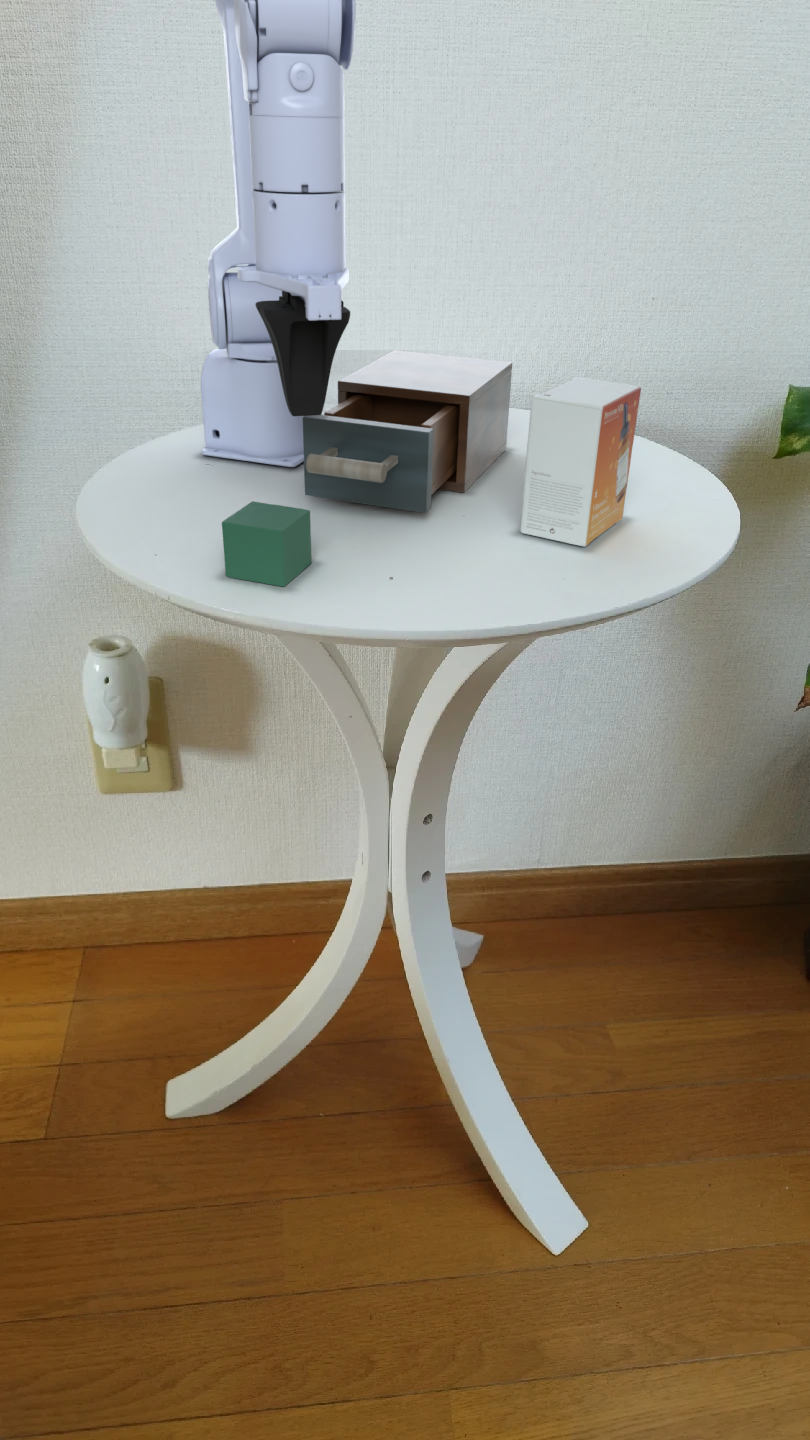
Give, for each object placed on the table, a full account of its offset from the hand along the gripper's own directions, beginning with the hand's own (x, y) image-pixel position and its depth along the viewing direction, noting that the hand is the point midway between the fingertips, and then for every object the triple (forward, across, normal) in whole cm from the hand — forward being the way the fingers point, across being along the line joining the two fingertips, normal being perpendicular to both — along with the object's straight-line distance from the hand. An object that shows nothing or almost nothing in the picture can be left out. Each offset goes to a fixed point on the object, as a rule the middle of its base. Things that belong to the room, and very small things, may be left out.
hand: (305, 413), depth 70 cm
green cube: (+10, +3, -4) cm, 11 cm away
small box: (+10, 0, +21) cm, 23 cm away
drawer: (+9, -9, +8) cm, 15 cm away
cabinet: (+10, -18, +14) cm, 25 cm away
